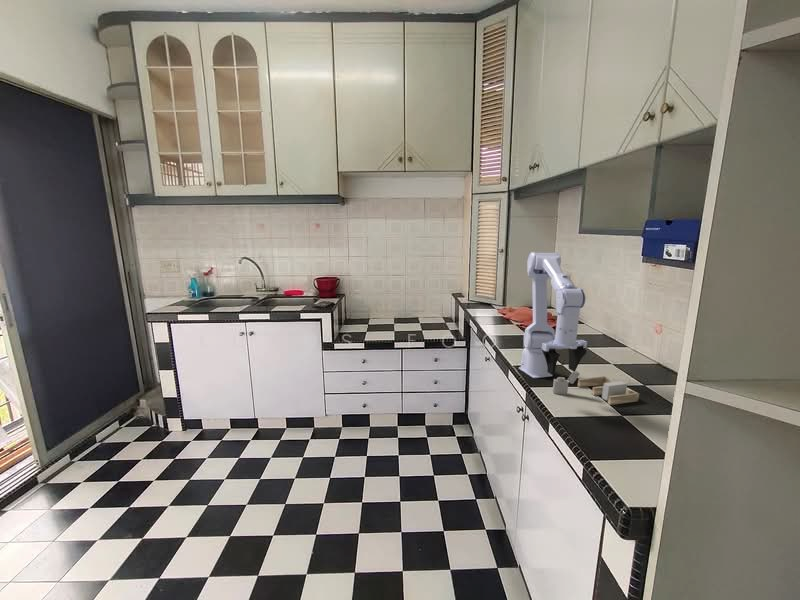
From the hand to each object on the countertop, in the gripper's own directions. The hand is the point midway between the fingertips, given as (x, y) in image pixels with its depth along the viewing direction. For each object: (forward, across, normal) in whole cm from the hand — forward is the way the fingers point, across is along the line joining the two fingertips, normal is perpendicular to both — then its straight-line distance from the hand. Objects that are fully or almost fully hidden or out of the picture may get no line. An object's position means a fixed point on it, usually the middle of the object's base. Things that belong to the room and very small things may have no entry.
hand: (561, 371), depth 106 cm
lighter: (+10, +5, +3) cm, 11 cm away
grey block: (+10, +18, -3) cm, 21 cm away
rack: (+10, +18, 0) cm, 20 cm away
